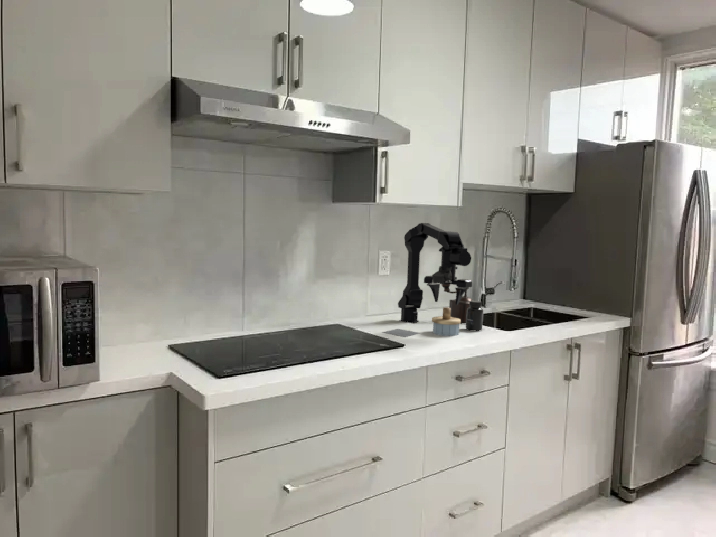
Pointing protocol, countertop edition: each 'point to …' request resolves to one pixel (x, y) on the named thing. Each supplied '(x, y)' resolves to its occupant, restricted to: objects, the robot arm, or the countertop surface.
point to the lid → (446, 318)
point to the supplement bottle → (474, 316)
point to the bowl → (445, 329)
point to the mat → (401, 332)
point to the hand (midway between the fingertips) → (446, 303)
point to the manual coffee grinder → (461, 308)
